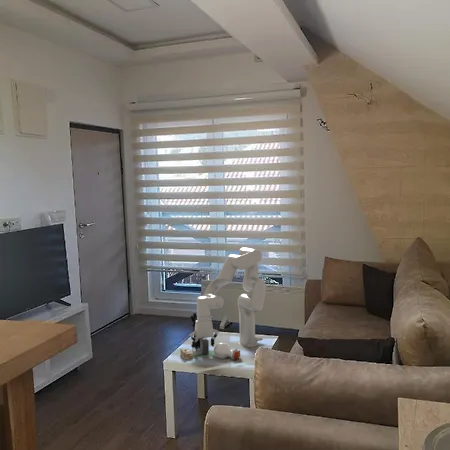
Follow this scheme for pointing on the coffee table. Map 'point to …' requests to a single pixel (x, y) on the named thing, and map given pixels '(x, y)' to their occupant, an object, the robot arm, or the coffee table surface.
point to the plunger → (202, 348)
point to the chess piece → (194, 328)
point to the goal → (185, 354)
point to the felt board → (204, 355)
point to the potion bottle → (225, 351)
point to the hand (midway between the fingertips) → (204, 347)
